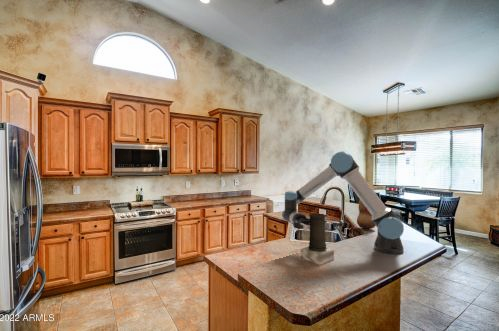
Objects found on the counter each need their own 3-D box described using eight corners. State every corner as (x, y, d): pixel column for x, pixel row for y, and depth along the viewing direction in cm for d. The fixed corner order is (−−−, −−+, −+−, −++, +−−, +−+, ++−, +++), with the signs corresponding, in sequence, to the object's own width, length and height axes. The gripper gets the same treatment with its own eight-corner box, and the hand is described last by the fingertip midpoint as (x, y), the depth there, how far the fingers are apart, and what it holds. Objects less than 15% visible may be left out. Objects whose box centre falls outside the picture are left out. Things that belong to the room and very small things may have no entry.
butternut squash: (357, 230, 194) (357, 197, 194) (356, 226, 207) (356, 196, 207) (377, 232, 190) (377, 198, 190) (374, 228, 202) (375, 196, 203)
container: (330, 250, 131) (330, 215, 131) (317, 252, 127) (317, 216, 127) (317, 245, 139) (317, 212, 139) (304, 247, 134) (305, 213, 135)
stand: (334, 259, 132) (334, 249, 132) (319, 264, 124) (319, 254, 124) (314, 253, 141) (315, 244, 141) (300, 257, 134) (300, 248, 134)
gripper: (316, 224, 155) (338, 233, 135) (279, 227, 147) (297, 236, 127) (316, 212, 155) (338, 218, 135) (279, 214, 147) (297, 221, 127)
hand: (318, 227), depth 131 cm, fingers open, 13 cm apart
